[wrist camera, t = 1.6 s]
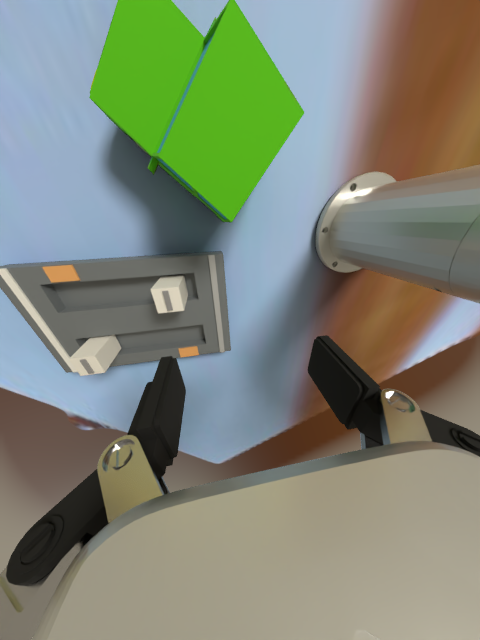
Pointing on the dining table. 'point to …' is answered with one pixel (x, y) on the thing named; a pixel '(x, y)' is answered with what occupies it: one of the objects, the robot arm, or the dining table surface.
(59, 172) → the dining table surface
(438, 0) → the dining table surface
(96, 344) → the tab
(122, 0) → the toy car
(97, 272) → the switch board
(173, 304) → the tab
